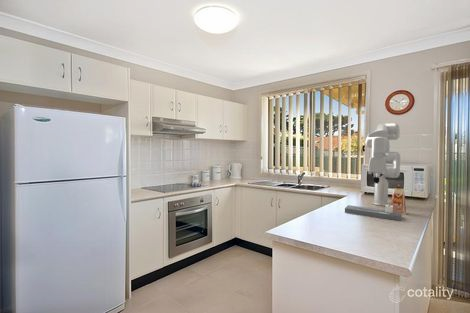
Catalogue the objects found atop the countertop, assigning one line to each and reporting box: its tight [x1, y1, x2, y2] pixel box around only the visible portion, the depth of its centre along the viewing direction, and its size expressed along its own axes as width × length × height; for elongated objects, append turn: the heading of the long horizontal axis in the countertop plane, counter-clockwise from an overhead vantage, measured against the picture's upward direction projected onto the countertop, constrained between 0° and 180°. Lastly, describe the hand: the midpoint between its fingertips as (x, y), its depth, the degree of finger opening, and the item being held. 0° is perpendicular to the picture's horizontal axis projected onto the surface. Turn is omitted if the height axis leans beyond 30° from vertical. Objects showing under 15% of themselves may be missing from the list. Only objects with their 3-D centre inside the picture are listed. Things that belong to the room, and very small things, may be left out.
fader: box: [384, 204, 393, 213], centre depth 163 cm, size 5×4×4 cm
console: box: [344, 204, 402, 222], centre depth 168 cm, size 12×32×3 cm, turn 56°
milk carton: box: [390, 184, 407, 216], centre depth 176 cm, size 9×9×20 cm
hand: (376, 183), depth 167 cm, fingers closed
